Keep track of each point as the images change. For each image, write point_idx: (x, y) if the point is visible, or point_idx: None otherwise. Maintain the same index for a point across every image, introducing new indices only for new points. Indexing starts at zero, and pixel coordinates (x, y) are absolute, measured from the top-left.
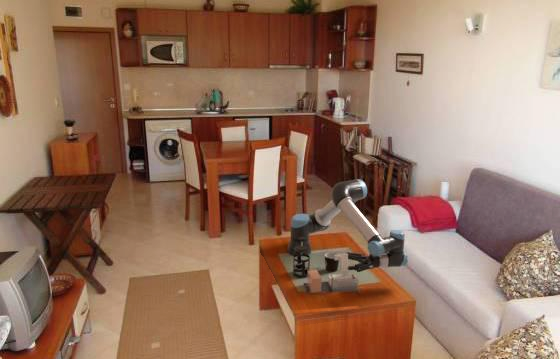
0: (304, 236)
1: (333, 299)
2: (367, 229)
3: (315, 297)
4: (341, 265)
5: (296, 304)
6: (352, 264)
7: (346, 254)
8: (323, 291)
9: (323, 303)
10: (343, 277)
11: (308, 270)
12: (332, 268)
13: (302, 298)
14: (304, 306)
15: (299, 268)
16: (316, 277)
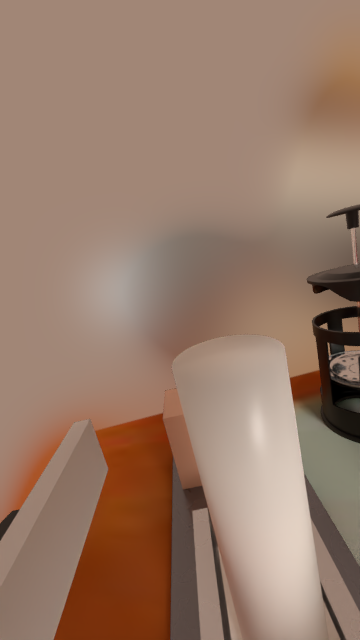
0: None
1: (121, 579)
2: None
3: (166, 478)
4: (87, 422)
5: (132, 426)
6: (7, 575)
7: (219, 365)
8: (190, 503)
9: (102, 513)
10: (232, 624)
11: None
12: None
13: (167, 437)
14: (111, 446)
15: (335, 367)
16: (177, 401)
